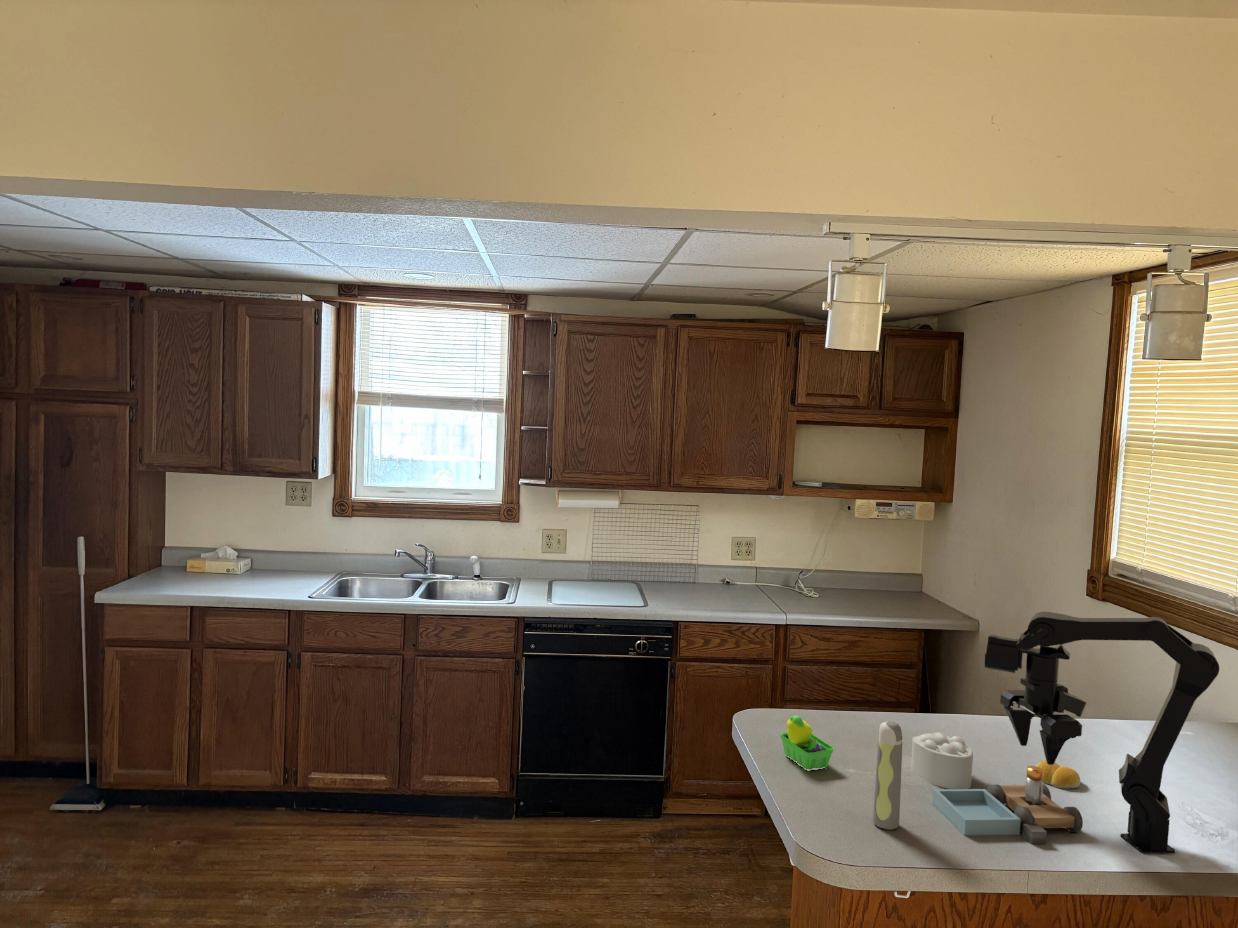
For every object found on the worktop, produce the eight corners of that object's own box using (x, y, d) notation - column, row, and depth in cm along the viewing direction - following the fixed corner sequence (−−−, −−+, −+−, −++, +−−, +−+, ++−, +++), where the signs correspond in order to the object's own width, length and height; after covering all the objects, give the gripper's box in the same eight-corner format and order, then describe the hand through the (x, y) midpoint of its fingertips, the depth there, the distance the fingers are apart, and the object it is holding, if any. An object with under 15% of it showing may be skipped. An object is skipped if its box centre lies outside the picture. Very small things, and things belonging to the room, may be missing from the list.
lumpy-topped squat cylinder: (941, 762, 194) (943, 725, 193) (984, 786, 182) (986, 747, 181) (904, 768, 190) (906, 730, 190) (945, 793, 178) (948, 752, 178)
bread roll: (1071, 793, 180) (1072, 775, 180) (1028, 779, 187) (1029, 761, 187) (1086, 783, 186) (1087, 765, 185) (1044, 769, 192) (1045, 752, 192)
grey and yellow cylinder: (878, 816, 166) (883, 716, 165) (902, 824, 163) (908, 722, 162) (868, 824, 163) (873, 723, 161) (893, 833, 160) (898, 729, 158)
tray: (1019, 834, 161) (1020, 819, 161) (964, 835, 160) (965, 819, 160) (983, 803, 174) (984, 788, 174) (932, 803, 173) (933, 789, 173)
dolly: (1091, 843, 158) (1093, 820, 158) (1031, 844, 157) (1033, 821, 157) (1037, 800, 176) (1039, 780, 175) (983, 801, 174) (984, 780, 174)
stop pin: (1043, 821, 167) (1047, 771, 166) (1029, 821, 166) (1032, 771, 166) (1034, 814, 170) (1038, 765, 169) (1020, 814, 169) (1023, 765, 169)
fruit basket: (835, 770, 187) (837, 720, 187) (801, 775, 184) (803, 725, 184) (805, 751, 198) (807, 703, 197) (772, 755, 195) (775, 707, 194)
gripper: (1111, 692, 158) (1106, 774, 159) (1052, 663, 176) (1047, 736, 177) (1055, 692, 157) (1049, 774, 158) (1001, 662, 175) (996, 736, 176)
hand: (1036, 754), depth 167 cm, fingers open, 9 cm apart
